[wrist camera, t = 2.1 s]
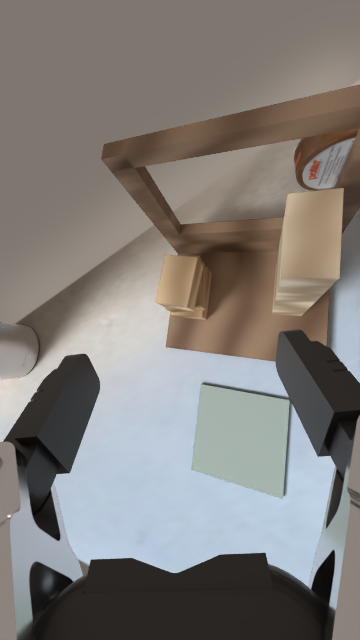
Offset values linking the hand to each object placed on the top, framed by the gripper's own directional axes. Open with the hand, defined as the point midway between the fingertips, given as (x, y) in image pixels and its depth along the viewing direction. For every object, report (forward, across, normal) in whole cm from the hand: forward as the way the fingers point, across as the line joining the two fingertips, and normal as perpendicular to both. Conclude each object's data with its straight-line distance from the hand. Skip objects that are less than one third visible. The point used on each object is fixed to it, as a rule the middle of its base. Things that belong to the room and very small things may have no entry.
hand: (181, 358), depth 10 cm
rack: (+18, -7, +8) cm, 21 cm away
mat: (+8, -4, +20) cm, 21 cm away
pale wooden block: (+16, -11, +6) cm, 21 cm away
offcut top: (+16, 0, +4) cm, 16 cm away
